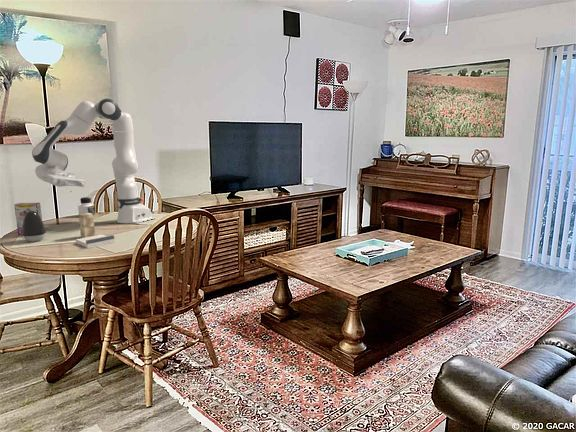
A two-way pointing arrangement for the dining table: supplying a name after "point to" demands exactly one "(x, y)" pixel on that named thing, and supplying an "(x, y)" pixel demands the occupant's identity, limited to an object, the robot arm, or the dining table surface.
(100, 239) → the dock
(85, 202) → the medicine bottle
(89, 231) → the oak block
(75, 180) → the robot arm
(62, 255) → the dining table surface
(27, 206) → the candy bar box
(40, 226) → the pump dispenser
